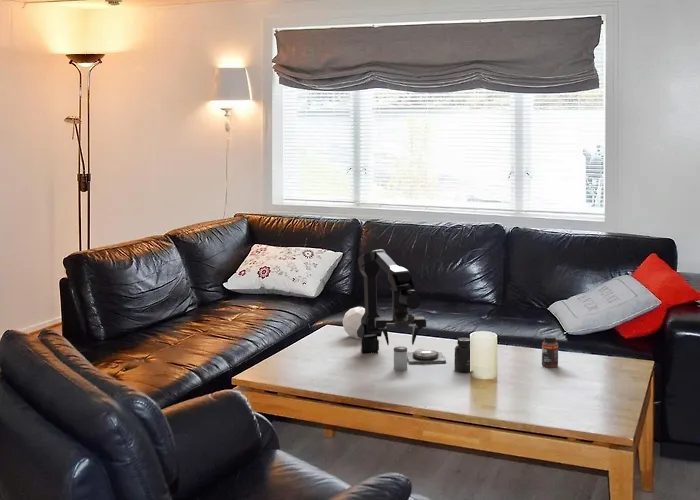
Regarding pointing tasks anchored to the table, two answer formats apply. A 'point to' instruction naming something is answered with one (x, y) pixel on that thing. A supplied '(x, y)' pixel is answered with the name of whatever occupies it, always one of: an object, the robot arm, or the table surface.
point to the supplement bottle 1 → (462, 356)
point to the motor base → (425, 356)
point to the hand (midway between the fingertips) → (400, 344)
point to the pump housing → (400, 358)
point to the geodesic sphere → (353, 321)
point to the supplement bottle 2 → (550, 352)
